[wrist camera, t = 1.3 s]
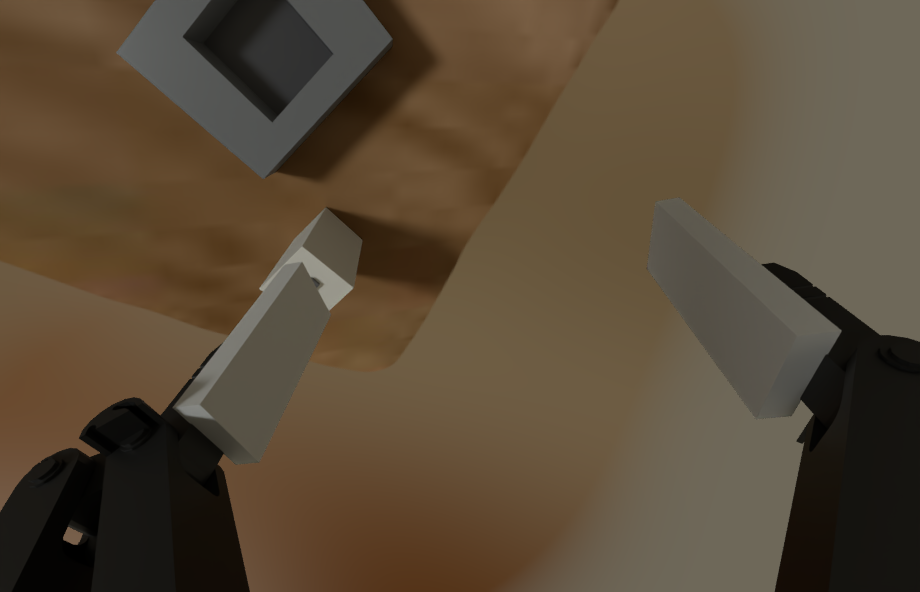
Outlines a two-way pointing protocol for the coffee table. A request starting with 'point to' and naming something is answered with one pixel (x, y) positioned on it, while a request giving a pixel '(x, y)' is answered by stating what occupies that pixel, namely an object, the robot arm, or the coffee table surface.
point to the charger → (325, 256)
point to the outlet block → (257, 66)
